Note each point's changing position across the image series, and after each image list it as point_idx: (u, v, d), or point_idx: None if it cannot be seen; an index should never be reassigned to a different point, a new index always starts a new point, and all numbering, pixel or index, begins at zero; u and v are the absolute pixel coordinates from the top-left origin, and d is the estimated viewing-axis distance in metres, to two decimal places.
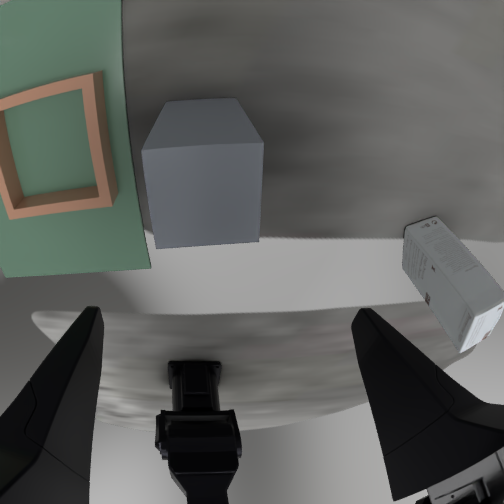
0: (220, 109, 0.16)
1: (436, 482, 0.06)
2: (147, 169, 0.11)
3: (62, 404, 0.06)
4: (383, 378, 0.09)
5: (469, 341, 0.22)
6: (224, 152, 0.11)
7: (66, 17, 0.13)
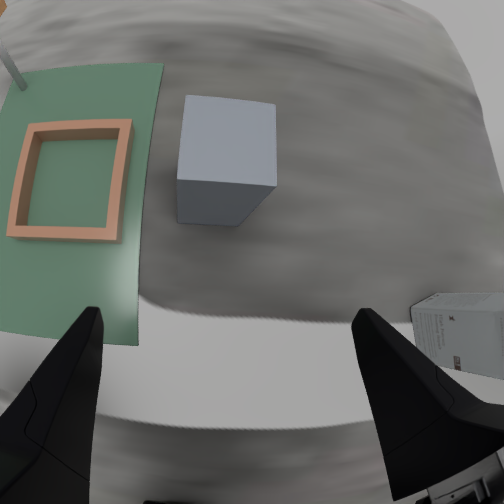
0: None
1: (436, 482, 0.06)
2: (187, 108, 0.14)
3: (62, 404, 0.06)
4: (383, 378, 0.09)
5: None
6: (247, 105, 0.15)
7: (117, 88, 0.23)
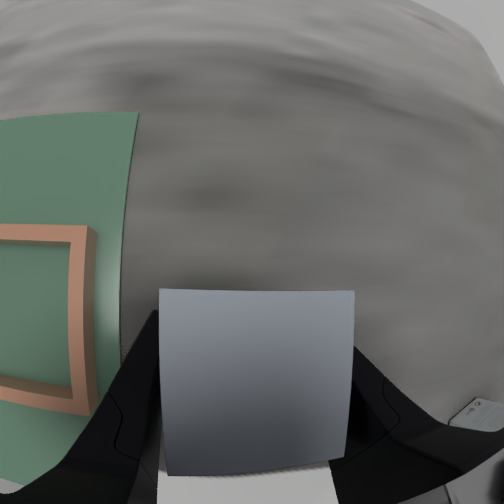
0: None
1: None
2: (166, 326, 0.06)
3: (150, 413, 0.06)
4: None
5: None
6: (299, 305, 0.07)
7: (69, 156, 0.15)
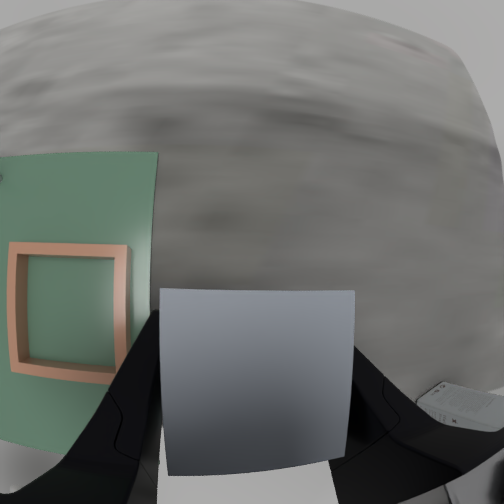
0: None
1: None
2: (166, 326, 0.06)
3: (150, 413, 0.06)
4: None
5: None
6: (300, 304, 0.07)
7: (104, 188, 0.21)
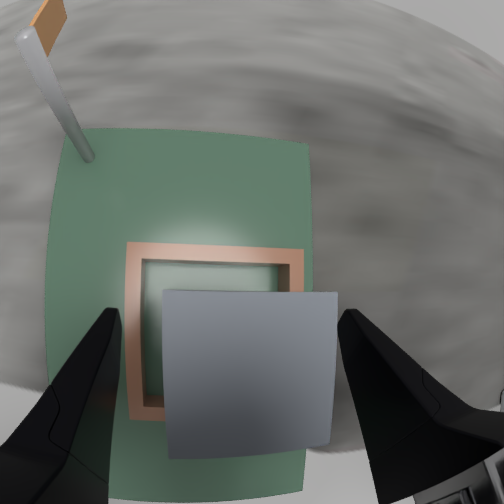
0: None
1: (421, 489, 0.06)
2: (168, 323, 0.07)
3: (86, 408, 0.06)
4: (368, 381, 0.09)
5: None
6: (286, 305, 0.08)
7: (252, 179, 0.19)
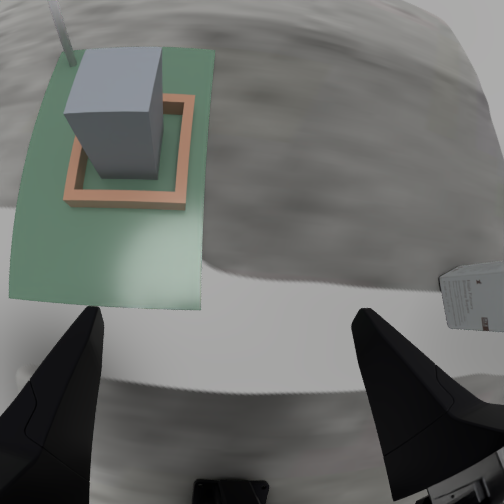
0: None
1: (436, 482, 0.06)
2: (84, 59, 0.13)
3: (62, 404, 0.06)
4: (383, 378, 0.09)
5: None
6: (135, 50, 0.14)
7: (172, 68, 0.25)
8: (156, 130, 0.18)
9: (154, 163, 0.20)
